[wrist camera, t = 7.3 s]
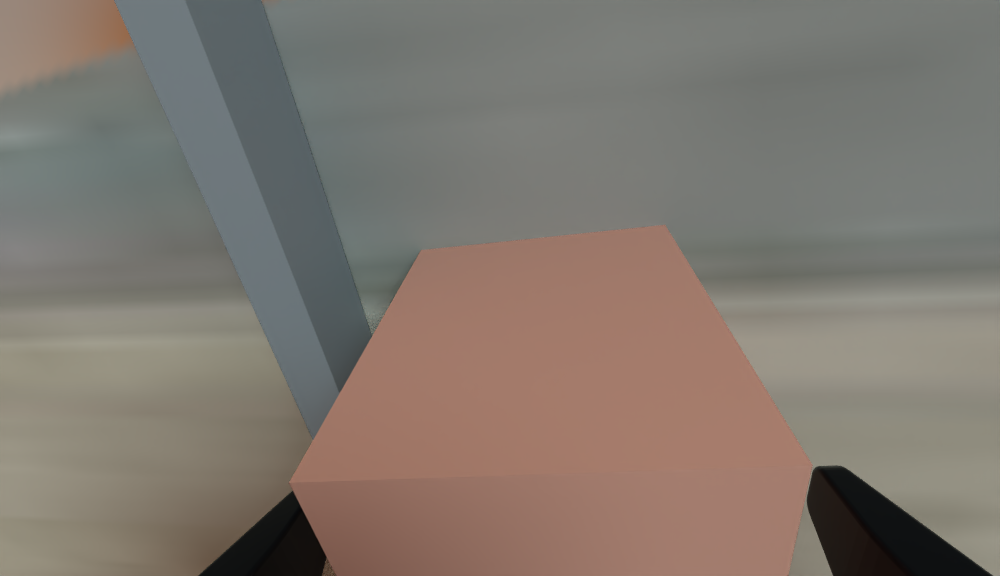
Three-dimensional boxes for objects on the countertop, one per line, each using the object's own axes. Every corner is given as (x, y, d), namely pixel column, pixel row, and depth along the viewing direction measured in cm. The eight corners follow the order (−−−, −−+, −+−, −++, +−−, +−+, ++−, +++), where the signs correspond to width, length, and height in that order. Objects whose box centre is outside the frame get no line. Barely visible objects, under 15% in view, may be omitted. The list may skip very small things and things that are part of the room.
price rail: (89, -523, 6) (-121, -775, 4) (498, 721, 20) (494, 786, 19) (9, -491, 6) (-225, -718, 4) (472, 720, 20) (465, 784, 19)
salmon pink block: (664, 223, 9) (812, 465, 4) (660, 482, 13) (739, 794, 8) (415, 249, 10) (275, 483, 5) (474, 488, 14) (430, 775, 8)
